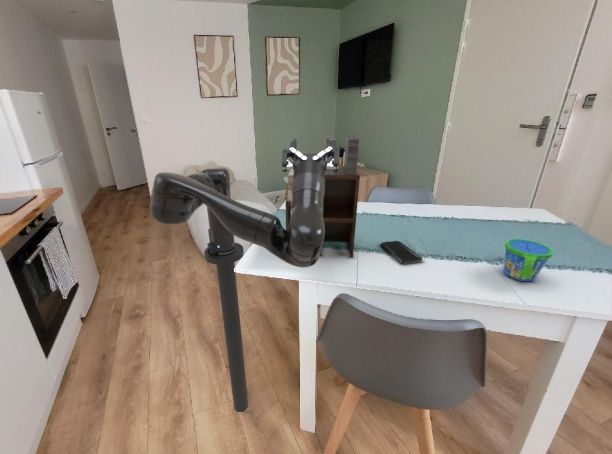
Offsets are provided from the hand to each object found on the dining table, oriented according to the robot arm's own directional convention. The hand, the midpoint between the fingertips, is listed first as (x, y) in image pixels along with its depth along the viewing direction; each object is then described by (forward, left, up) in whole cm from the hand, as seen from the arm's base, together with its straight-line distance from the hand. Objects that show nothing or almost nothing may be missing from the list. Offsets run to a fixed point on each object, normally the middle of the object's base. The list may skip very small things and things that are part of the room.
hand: (311, 141), depth 77 cm
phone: (+37, -5, -42) cm, 57 cm away
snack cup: (+54, -34, -43) cm, 77 cm away
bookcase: (+16, +15, -42) cm, 48 cm away
